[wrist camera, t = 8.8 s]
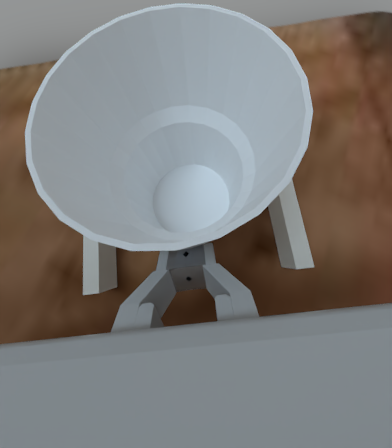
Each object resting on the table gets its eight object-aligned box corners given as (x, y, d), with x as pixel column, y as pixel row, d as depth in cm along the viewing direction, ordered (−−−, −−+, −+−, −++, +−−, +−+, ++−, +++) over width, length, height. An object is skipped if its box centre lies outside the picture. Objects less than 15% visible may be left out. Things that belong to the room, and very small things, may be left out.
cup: (156, 145, 17) (86, -3, 8) (256, 163, 16) (327, 12, 6) (123, 241, 15) (-24, 208, 6) (233, 270, 14) (285, 293, 4)
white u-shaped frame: (296, 265, 14) (314, 267, 12) (103, 288, 15) (82, 295, 12) (259, 109, 17) (268, 85, 15) (101, 136, 18) (84, 117, 15)
